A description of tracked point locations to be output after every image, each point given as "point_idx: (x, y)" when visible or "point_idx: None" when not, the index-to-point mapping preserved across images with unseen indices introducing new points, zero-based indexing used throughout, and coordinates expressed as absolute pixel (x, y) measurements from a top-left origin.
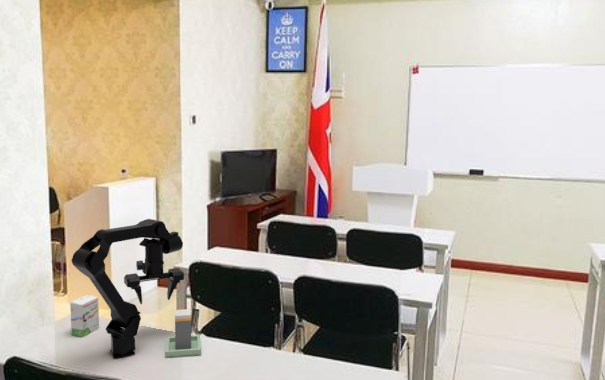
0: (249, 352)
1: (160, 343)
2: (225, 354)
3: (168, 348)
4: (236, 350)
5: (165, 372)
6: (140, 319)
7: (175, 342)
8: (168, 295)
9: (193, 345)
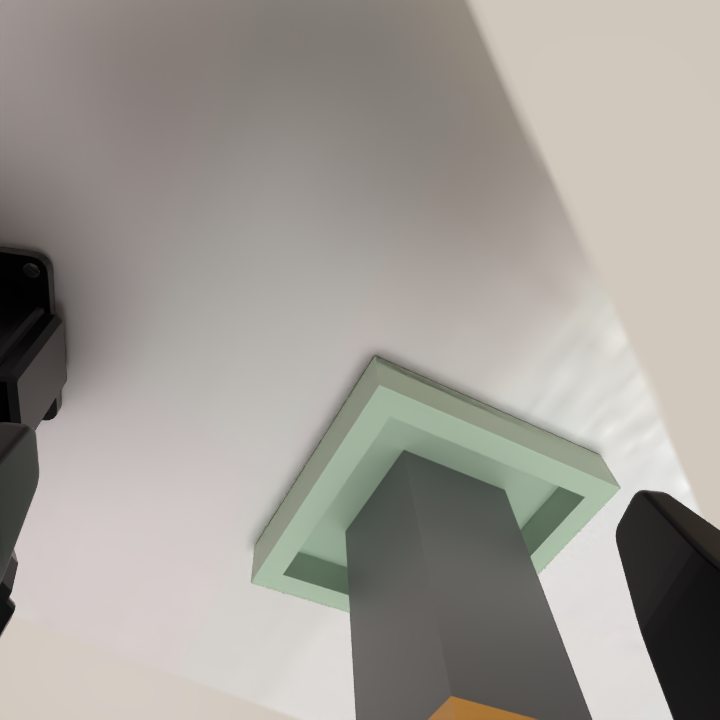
0: None
1: (322, 339)
2: (574, 654)
3: (294, 554)
4: None
5: (190, 663)
6: (4, 622)
7: (350, 589)
8: (657, 632)
9: None
